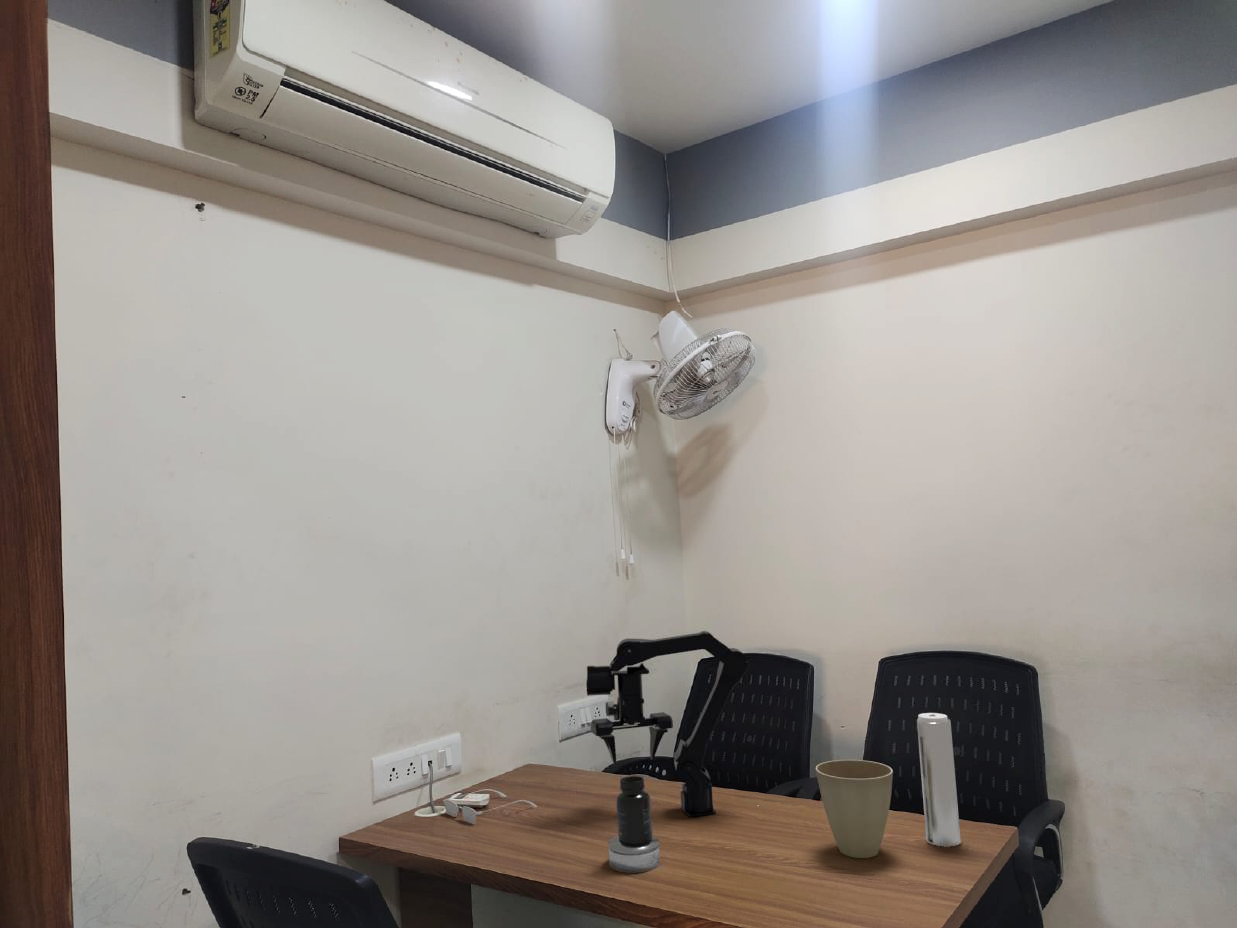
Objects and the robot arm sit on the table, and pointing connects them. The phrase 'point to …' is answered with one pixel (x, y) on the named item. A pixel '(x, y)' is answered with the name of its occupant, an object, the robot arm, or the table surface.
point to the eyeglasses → (468, 812)
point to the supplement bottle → (634, 813)
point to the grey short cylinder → (633, 856)
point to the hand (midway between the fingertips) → (633, 761)
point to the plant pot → (856, 803)
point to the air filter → (938, 780)
